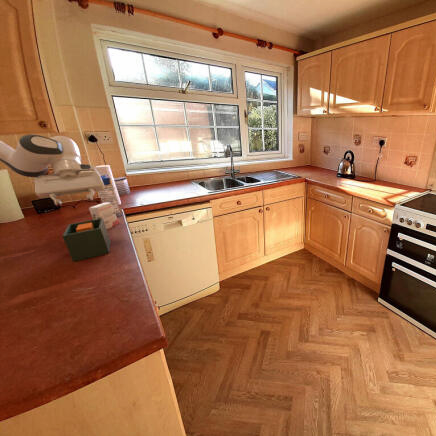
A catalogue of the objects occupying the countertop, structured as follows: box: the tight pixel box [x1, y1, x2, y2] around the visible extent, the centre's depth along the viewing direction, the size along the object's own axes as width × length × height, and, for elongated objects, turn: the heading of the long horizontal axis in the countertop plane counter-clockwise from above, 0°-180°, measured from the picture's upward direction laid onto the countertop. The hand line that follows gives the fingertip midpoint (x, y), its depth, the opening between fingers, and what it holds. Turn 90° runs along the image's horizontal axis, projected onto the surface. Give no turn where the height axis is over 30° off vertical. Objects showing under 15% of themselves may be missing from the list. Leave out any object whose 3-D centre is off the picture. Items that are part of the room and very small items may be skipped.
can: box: [114, 176, 131, 197], centre depth 181 cm, size 11×11×12 cm
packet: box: [76, 222, 94, 232], centre depth 99 cm, size 4×6×10 cm
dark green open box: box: [62, 218, 112, 263], centre depth 99 cm, size 11×13×11 cm
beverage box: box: [97, 175, 123, 218], centre depth 137 cm, size 7×11×22 cm, turn 39°
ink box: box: [88, 202, 120, 230], centre depth 122 cm, size 9×5×12 cm, turn 168°
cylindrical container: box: [94, 164, 122, 206], centre depth 154 cm, size 7×7×25 cm
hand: (74, 202), depth 92 cm, fingers open, 8 cm apart
